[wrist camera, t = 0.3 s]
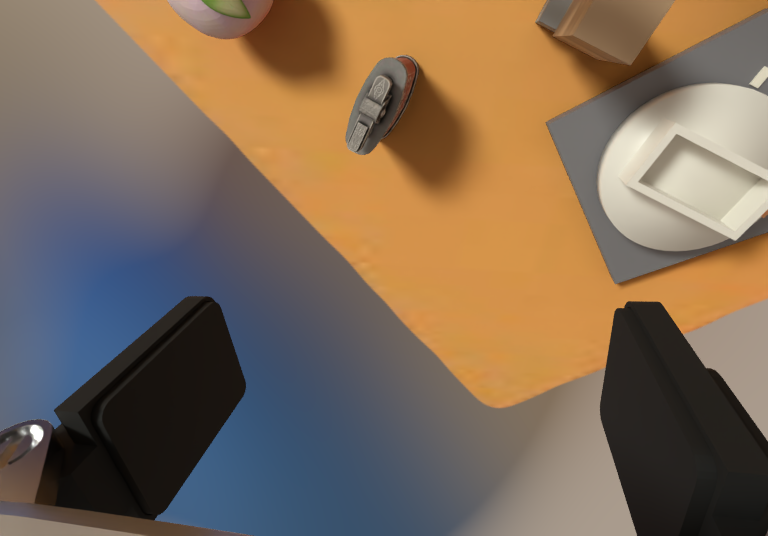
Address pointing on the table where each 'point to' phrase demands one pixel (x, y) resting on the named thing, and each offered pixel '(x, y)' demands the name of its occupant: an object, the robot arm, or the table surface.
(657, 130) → the dial
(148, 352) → the robot arm
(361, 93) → the lighter
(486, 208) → the table surface
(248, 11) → the decorative fruit
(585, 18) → the tan block
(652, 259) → the dial plate
